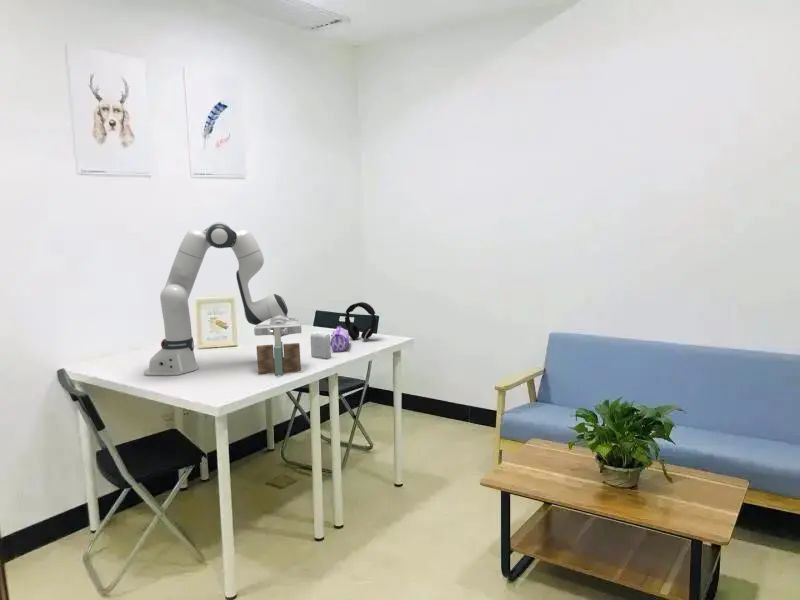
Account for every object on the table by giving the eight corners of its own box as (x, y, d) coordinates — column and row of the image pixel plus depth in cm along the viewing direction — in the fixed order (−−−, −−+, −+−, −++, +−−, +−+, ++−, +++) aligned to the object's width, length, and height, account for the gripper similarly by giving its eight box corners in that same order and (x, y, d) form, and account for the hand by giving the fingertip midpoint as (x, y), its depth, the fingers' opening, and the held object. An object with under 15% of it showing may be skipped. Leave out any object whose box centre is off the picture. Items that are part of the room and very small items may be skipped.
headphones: (343, 340, 328) (341, 303, 325) (351, 337, 334) (349, 301, 331) (371, 343, 319) (370, 304, 316) (379, 340, 326) (378, 302, 323)
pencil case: (331, 343, 321) (330, 325, 320) (349, 342, 322) (348, 324, 321) (330, 353, 300) (329, 334, 298) (349, 352, 300) (349, 333, 299)
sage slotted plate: (275, 375, 261) (272, 329, 258) (277, 368, 273) (274, 324, 270) (282, 375, 261) (279, 329, 258) (283, 368, 273) (281, 323, 270)
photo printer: (332, 357, 291) (331, 331, 289) (326, 359, 287) (325, 333, 285) (316, 355, 296) (314, 329, 295) (309, 357, 293) (308, 331, 291)
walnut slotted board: (258, 374, 265) (256, 346, 263) (258, 372, 267) (256, 345, 265) (300, 371, 267) (299, 344, 265) (300, 370, 269) (299, 343, 268)
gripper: (254, 321, 275) (251, 326, 262) (301, 318, 278) (300, 324, 264) (255, 334, 276) (252, 341, 263) (302, 332, 279) (301, 338, 265)
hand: (277, 332), depth 263 cm, fingers open, 4 cm apart
